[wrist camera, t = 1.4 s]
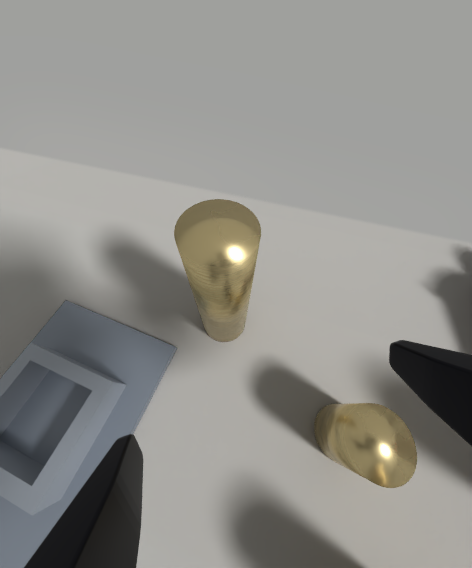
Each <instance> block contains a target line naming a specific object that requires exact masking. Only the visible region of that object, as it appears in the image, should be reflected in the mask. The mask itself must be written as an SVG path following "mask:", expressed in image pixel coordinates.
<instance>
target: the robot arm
mask: <svg viewBox="0 0 472 568" xmlns="http://www.w3.org/2000/svg"><path fill="white" fill-rule="evenodd" d="M389 363H390V365H391V367H392V369H393V370H394V371H395V372H396V373H397V374H398V375H399V376H400V377H401V378H402V379H403V380H404V382H405V383H406V384H407V385H408V386H409V387H410V388H411V389H412V390H413V391H414V392H415V393H416V394H417V395H418V396H419V397H420V398H421V399H422V401H423V402H424V403H425V404H426V405H427V406H428V407H429V408H430V409H432V410H433V411H434V412H435V413H436V414H437V415H438V416H439V417H440V418H441V419H442V420H443V421H445V422H446V423H447V424H448V425H449V426H450V427H451V428H452V429H453V430H454V431H456V432H457V433H458V434H459V435H460V436H461V437H462V438H463V439H464V440H465V441H467V442H468V443H469V444H470V445H471V446H472V355H469V354H464V353H460V352H455V351H451V350H446V349H442V348H437V347H432V346H428V345H423V344H419V343H414V342H409V341H405V340H399V341H396V342H394V343H391V345H390V354H389ZM142 483H143V454H142V451H141V449H140V447H139V445H138V443H137V440H136V438H135V436H134V435H133V434H128V435H126V436H123V437H120V438H118V439H117V440H116V441H115V442H114V444H113V445H112V447H111V448H110V449H109V451H108V452H107V453H106V455H105V456H104V458H103V459H102V460H101V462H100V463H99V464H98V466H97V467H96V469H95V470H94V471H93V473H92V474H91V476H90V477H89V478H88V480H87V481H86V482H85V484H84V485H83V487H82V488H81V489H80V491H79V492H78V493H77V495H76V496H75V498H74V499H73V500H72V502H71V503H70V505H69V506H68V507H67V509H66V510H65V511H64V513H63V514H62V516H61V517H60V518H59V520H58V521H57V522H56V524H55V525H54V527H53V528H52V529H51V531H50V532H49V534H48V535H47V536H46V538H45V539H44V540H43V542H42V543H41V545H40V546H39V547H38V549H37V550H36V551H35V553H34V554H33V556H32V557H31V558H30V560H29V561H28V563H27V564H26V565H25V567H24V568H136V564H137V556H138V547H139V539H140V529H141V513H142Z"/></svg>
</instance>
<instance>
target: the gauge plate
mask: <svg viewBox="0 0 472 568" xmlns="http://www.w3.org/2000/svg"><path fill="white" fill-rule="evenodd" d="M176 349H177V348H176V347H175V346H172V345H170V344H168V343H165V342H163V341H161V340H158V339H156V338H154V337H151V336H149V335H147V334H144V333H142V332H139V331H137V330H135V329H132V328H130V327H128V326H125V325H123V324H121V323H118V322H116V321H114V320H111V319H109V318H107V317H104V316H102V315H100V314H97V313H95V312H93V311H90V310H88V309H85V308H83V307H81V306H78V305H76V304H74V303H71V302H69V301H67V300H66V301H65V302H64V303H63V304H62V305H61V307H60V308H59V309H58V310H57V311H56V313H55V314H54V315H53V316H52V318H51V319H50V320H49V321H48V322H47V324H46V325H45V326H44V327H43V328H42V330H41V331H40V332H39V333H38V334H37V336H36V337H35V338H34V339H33V340H32V342H31V343H30V344H29V345H28V346H27V347H26V348H25V350H24V351H23V352H22V353H21V354H20V356H19V357H18V358H17V359H16V360H15V362H14V363H13V364H12V365H11V366H10V368H9V369H8V370H7V371H6V372H5V374H4V375H3V376H2V377H1V378H0V568H24V567H25V565H26V564H27V563H28V561H29V560H30V558H31V557H32V556H33V554H34V553H35V551H36V550H37V549H38V547H39V546H40V545H41V543H42V542H43V540H44V539H45V538H46V536H47V535H48V534H49V532H50V531H51V529H52V528H53V527H54V525H55V524H56V522H57V521H58V520H59V518H60V517H61V516H62V514H63V513H64V511H65V510H66V509H67V507H68V506H69V505H70V503H71V502H72V500H73V499H74V498H75V496H76V495H77V493H78V492H79V491H80V489H81V488H82V487H83V485H84V484H85V482H86V481H87V480H88V478H89V477H90V476H91V474H92V473H93V471H94V470H95V469H96V467H97V466H98V464H99V463H100V462H101V460H102V459H103V458H104V456H105V455H106V453H107V452H108V451H109V449H110V448H111V447H112V445H113V444H114V442H115V441H116V440H117V439H118V438H120V437H123V436H126V435H128V434H133V433H134V431H135V429H136V427H137V425H138V423H139V421H140V419H141V417H142V416H143V414H144V412H145V410H146V408H147V406H148V404H149V402H150V400H151V398H152V396H153V394H154V392H155V390H156V388H157V386H158V384H159V382H160V381H161V379H162V377H163V375H164V373H165V371H166V369H167V367H168V365H169V363H170V361H171V359H172V357H173V355H174V353H175V351H176Z"/></svg>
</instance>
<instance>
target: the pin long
mask: <svg viewBox="0 0 472 568" xmlns="http://www.w3.org/2000/svg"><path fill="white" fill-rule="evenodd" d="M174 236H175V241H176V244H177V247H178V250H179V253H180V256H181V259H182V262H183V265H184V268H185V271H186V274H187V277H188V280H189V283H190V286H191V289H192V292H193V295H194V298H195V301H196V304H197V307H198V310H199V313H200V316H201V319H202V322H203V325H204V328H205V330H206V332H207V334H208V335H209V336H210V337H211V338H213V339H214V340H216V341H220V342H228V341H232V340H234V339H236V338H237V337H238V336H240V334H241V333H242V332H243V330H244V327H245V321H246V316H247V310H248V304H249V299H250V293H251V288H252V282H253V276H254V271H255V265H256V259H257V254H258V248H259V242H260V237H261V228H260V224H259V221H258V219H257V217H256V216H255V215H254V214H253V213H252V211H250V210H249V209H248V208H247V207H245V206H243V205H241V204H239V203H237V202H234V201H230V200H221V199H215V200H207V201H203V202H200V203H198V204H195V205H193V206H192V207H190V208H189V209H187V210H186V211H185V212H184V213H183V214H182V215H181V216H180V217H179V219H178V221H177V223H176V226H175V230H174Z"/></svg>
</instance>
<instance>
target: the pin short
mask: <svg viewBox="0 0 472 568" xmlns="http://www.w3.org/2000/svg"><path fill="white" fill-rule="evenodd" d="M314 431H315V437H316V440H317V443H318V445H319V447H320V448H321V450H322V451H323V453H324V454H325V455H326V456H327V457H328V458H330V459H331V460H333V461H334V462H336V463H338V464H340V465H342V466H344V467H346V468H347V469H349V470H351V471H353V472H355V473H357V474H358V475H360V476H362V477H364V478H366V479H368V480H370V481H371V482H373V483H375V484H377V485H379V486H382V487H387V488H396V487H400V486H402V485H404V484H406V483H407V482H408V481H409V480H410V479H411V477H412V476H413V474H414V472H415V469H416V464H417V452H416V446H415V442H414V439H413V437H412V435H411V433H410V431H409V429H408V427H407V426H406V424H405V423H404V422H403V421H402V419H401V418H400V417H399V416H398V415H397V414H395V413H394V412H393V411H392V410H390V409H388V408H386V407H384V406H382V405H379V404H373V403H358V404H330V405H327V406H325V407H323V408H322V409H321V410H320V411H319V413H318V414H317V416H316V419H315V424H314Z"/></svg>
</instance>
